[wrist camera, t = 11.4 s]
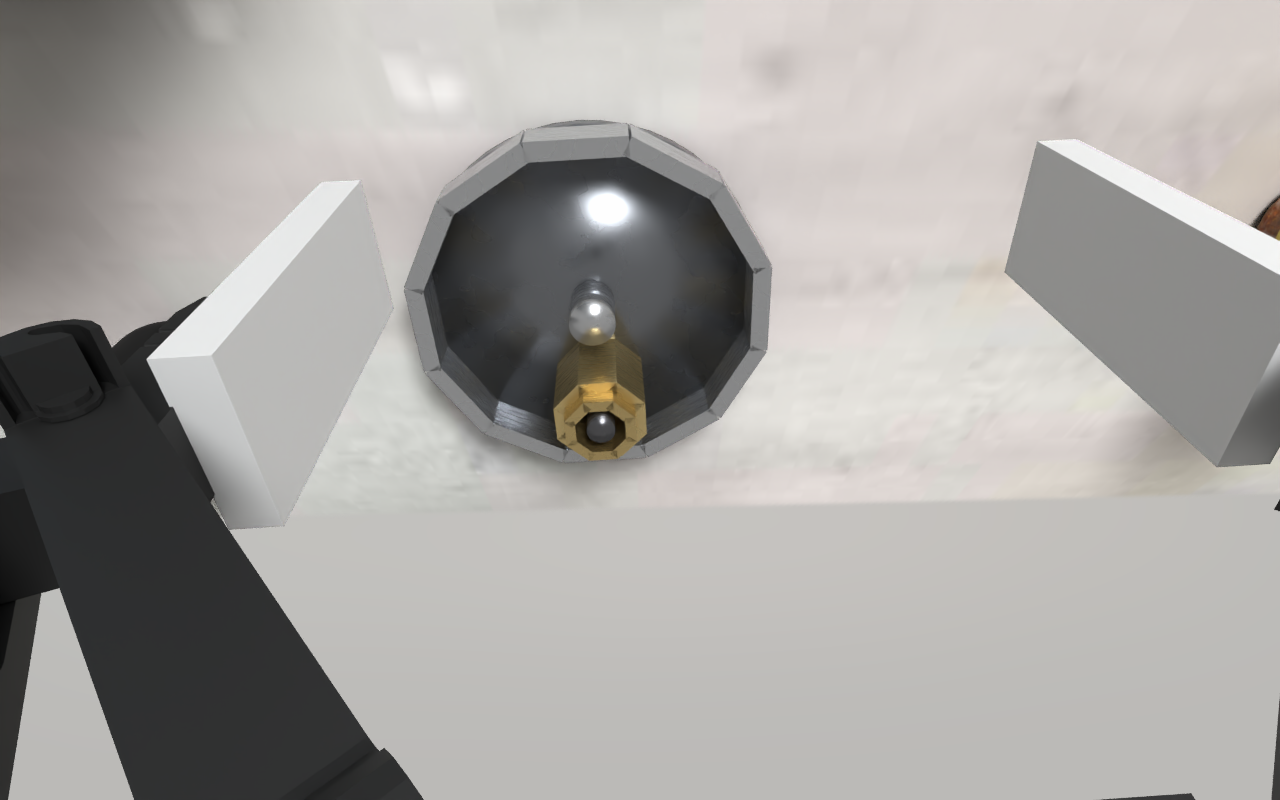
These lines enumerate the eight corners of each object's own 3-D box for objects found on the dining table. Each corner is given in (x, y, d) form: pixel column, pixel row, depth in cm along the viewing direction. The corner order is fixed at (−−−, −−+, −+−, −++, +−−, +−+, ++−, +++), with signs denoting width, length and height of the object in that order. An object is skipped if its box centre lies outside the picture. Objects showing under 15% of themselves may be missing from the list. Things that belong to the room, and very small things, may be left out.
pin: (584, 369, 48) (582, 436, 42) (595, 350, 47) (594, 415, 41) (606, 378, 48) (607, 446, 42) (617, 359, 48) (620, 425, 42)
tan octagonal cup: (563, 412, 48) (559, 470, 43) (554, 342, 45) (549, 396, 40) (643, 406, 48) (648, 464, 43) (640, 336, 45) (644, 390, 40)
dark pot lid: (380, 358, 47) (363, 395, 43) (497, 48, 37) (487, 63, 34) (660, 464, 52) (664, 504, 49) (823, 220, 43) (843, 248, 39)
